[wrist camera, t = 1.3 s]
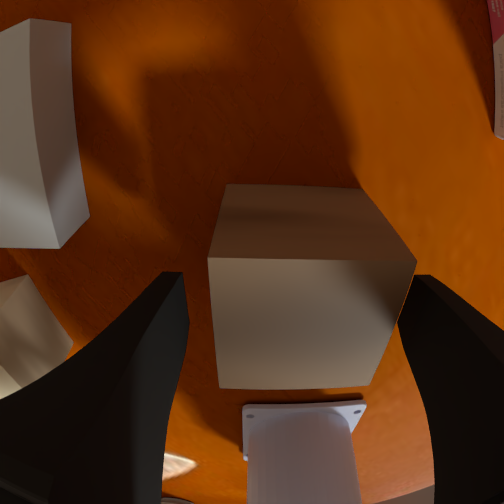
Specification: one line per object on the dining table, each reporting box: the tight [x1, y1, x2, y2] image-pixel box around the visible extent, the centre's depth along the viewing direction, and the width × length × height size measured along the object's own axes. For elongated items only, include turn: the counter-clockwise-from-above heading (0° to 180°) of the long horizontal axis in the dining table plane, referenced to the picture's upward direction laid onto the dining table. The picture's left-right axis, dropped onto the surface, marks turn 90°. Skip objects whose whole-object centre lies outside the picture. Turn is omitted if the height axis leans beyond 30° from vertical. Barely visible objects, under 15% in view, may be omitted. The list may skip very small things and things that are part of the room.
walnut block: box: [208, 184, 417, 390], centre depth 10 cm, size 5×5×5 cm
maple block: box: [0, 274, 74, 399], centre depth 13 cm, size 5×5×5 cm
